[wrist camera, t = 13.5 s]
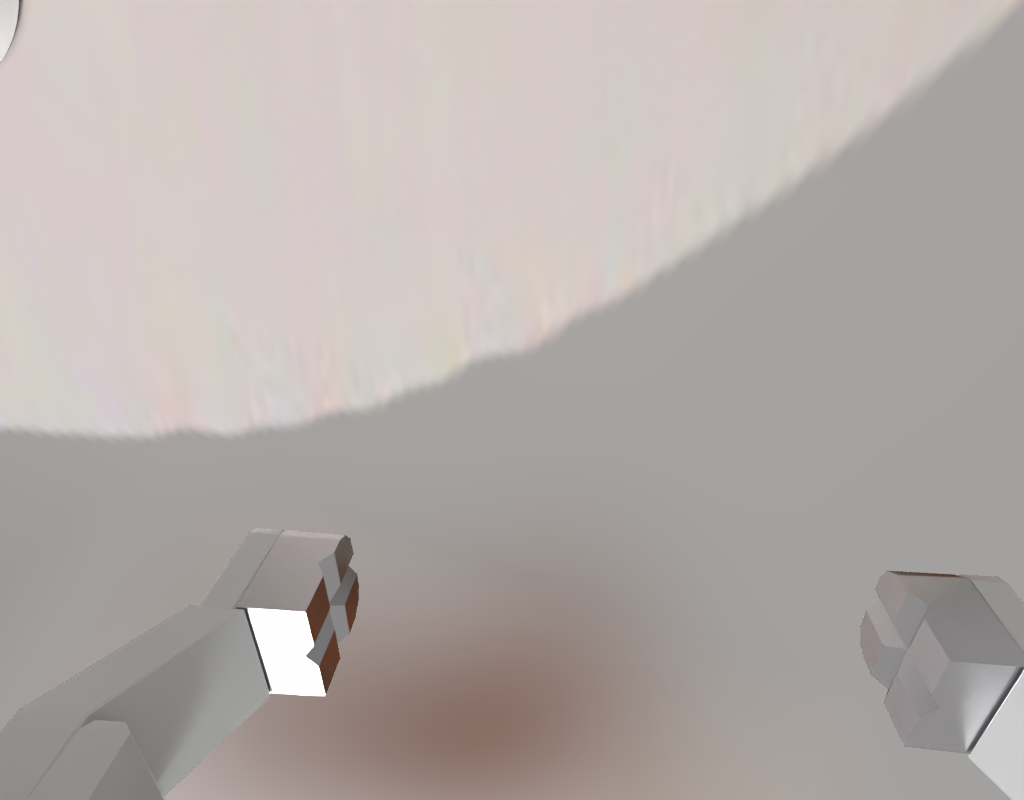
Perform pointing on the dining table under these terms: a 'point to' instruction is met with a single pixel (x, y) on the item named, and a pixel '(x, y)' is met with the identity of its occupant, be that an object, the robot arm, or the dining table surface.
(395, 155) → the dining table surface
